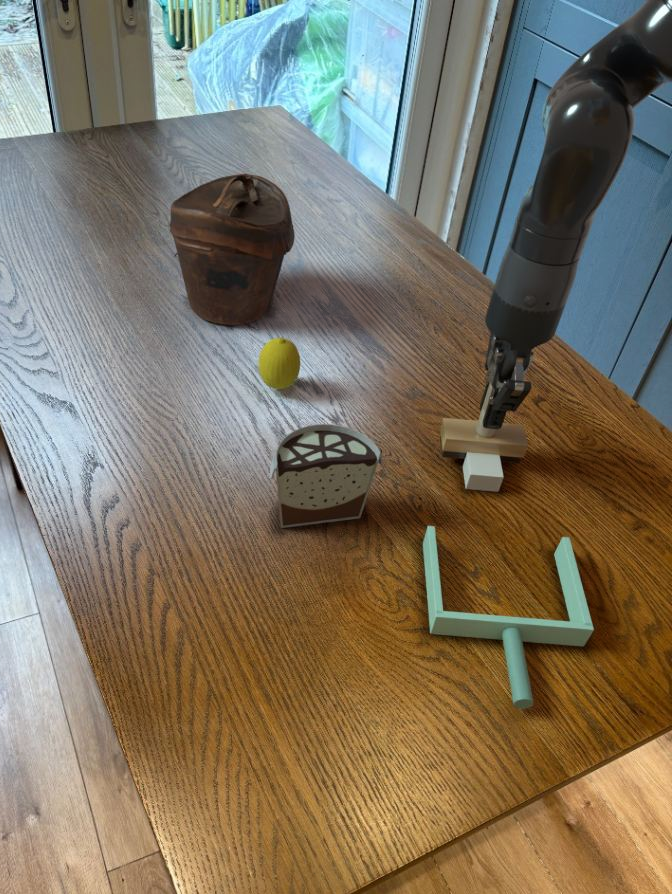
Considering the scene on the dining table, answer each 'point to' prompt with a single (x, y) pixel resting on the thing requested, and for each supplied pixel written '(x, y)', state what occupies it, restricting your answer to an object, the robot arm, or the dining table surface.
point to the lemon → (279, 363)
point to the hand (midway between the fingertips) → (489, 418)
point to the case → (232, 246)
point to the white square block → (482, 471)
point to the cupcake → (323, 474)
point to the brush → (482, 438)
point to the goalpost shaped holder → (512, 618)
